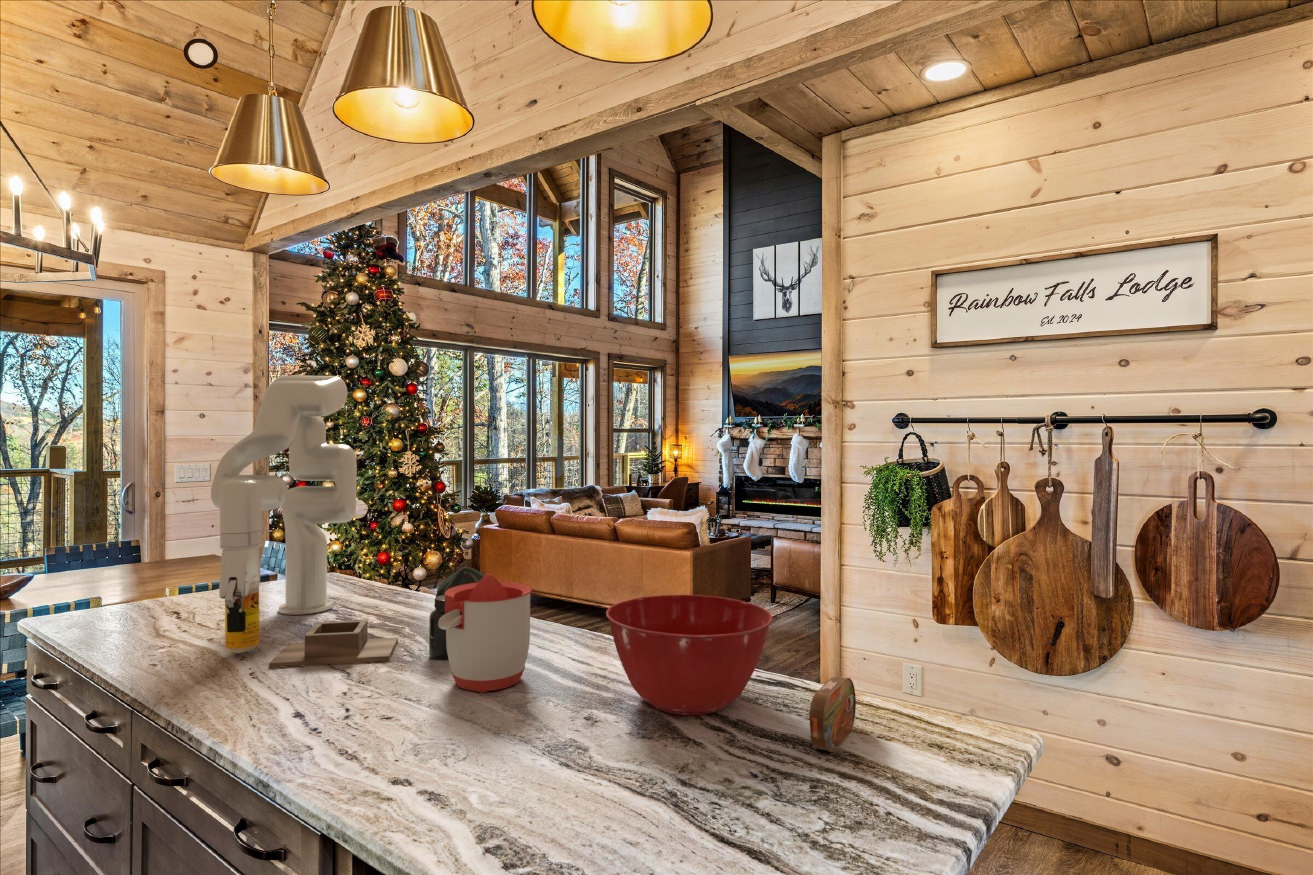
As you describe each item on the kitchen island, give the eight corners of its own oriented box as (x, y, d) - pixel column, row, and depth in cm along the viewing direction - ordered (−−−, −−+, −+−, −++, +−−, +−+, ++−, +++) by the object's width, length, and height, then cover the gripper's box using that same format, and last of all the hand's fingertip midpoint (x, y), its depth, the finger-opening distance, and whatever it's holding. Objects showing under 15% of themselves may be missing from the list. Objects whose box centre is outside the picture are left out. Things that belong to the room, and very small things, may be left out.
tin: (826, 761, 101) (827, 702, 101) (805, 756, 102) (805, 697, 102) (857, 724, 114) (858, 671, 113) (838, 720, 115) (838, 668, 115)
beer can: (248, 653, 144) (247, 579, 143) (218, 652, 144) (217, 578, 143) (265, 643, 150) (265, 572, 149) (237, 643, 150) (236, 572, 150)
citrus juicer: (419, 684, 130) (419, 575, 130) (499, 662, 143) (499, 562, 143) (466, 707, 119) (466, 588, 119) (548, 681, 132) (549, 573, 132)
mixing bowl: (684, 662, 143) (685, 585, 143) (805, 701, 123) (805, 612, 123) (572, 698, 124) (573, 609, 123) (694, 752, 103) (694, 646, 103)
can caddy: (288, 648, 151) (288, 622, 151) (398, 642, 156) (398, 616, 156) (268, 668, 139) (268, 639, 138) (388, 660, 143) (388, 633, 143)
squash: (479, 590, 183) (448, 551, 174) (520, 601, 174) (490, 561, 165) (444, 636, 174) (410, 598, 166) (485, 650, 166) (451, 610, 157)
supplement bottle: (421, 658, 145) (421, 599, 145) (443, 648, 151) (443, 592, 151) (449, 662, 143) (449, 602, 142) (470, 652, 149) (470, 595, 149)
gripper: (236, 533, 154) (237, 615, 154) (204, 548, 137) (205, 640, 138) (274, 532, 155) (275, 614, 156) (247, 546, 139) (248, 638, 139)
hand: (242, 625), depth 147 cm, fingers closed on beer can, 6 cm apart
